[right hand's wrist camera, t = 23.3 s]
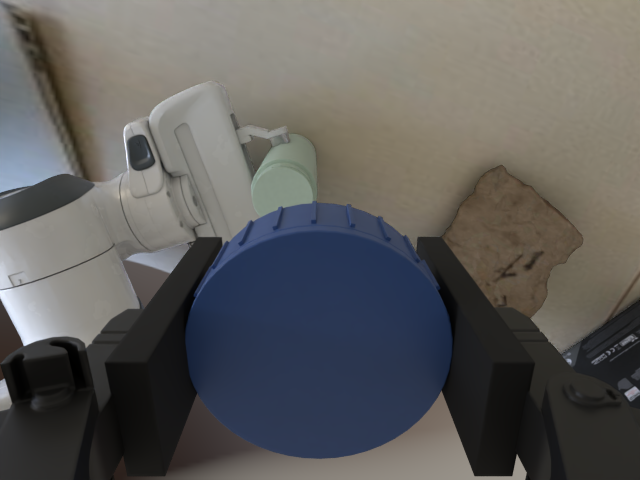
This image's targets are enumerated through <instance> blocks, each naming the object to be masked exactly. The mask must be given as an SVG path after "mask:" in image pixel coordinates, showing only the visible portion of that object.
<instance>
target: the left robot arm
mask: <svg viewBox="0 0 640 480" xmlns="http://www.w3.org/2000/svg"><path fill="white" fill-rule="evenodd" d="M123 135H124V143H125V151H126V159H127V168H128V171H126V172H124V173H122V174H120V175H119V176H117V177H116V178H114V179H112V180H110V181H105V182H90V181H88V180H85V179H82V178H79V177H76V176H73V175H69V174H61V175H57V176H54V177H51V178H48V179H46V180H44V181H42V182H40V183H38V184H36V185H33V186H27V187H21V188H16V189H12V190H8V191H5V192H2V193H0V299H1V301H2V303H3V305H4V306H5V308H6V310H7V312H8V314H9V316H10V318H11V320H12V322H13V324H14V325H15V327H16V329H17V331H18V333H19V335H20V337H21V339H22V342H23V345H24V346H25V345H28V344H30V343H33V342H35V341H39V340H43V339H47V338H51V337H63V336H68V337H74V338H79V339H80V340H81V341H83V342H84V343H85V346H86V348H87V346H88V345H89V344H92V341H93V339H94V338H95V337H96V336H97V335H98V334H100V331H101V330H102V329H103V328H104V327H105V325H106V324H107V323H108V322H109V321H110V319H112V318H113V317H115V316H117V315H118V314H120V313H122V312H123V311H125V310H126V309H145V308H144V306H143V305H142V303H141V301H140V299H139V298H138V297H137V296H136V294H135V291H134V289H133V287H132V284H131V282H130V280H129V277H128V275H127V273H126V271H125V268H124V266H123V264H122V261H124V260H125V259H127V258H128V257H130V256H132V255H134V254H137V253H153V252H158V251H161V250H165V249H168V248H172V247H175V246H178V245H182V244H186V243H188V245H189V248H190V247H191V246H192V245H193V243H194V242H195V241H196V239H197V238H198V237H222V244H223V245H224V243H225V242H226V241H228V242H230V241H231V239H232V238H233V237H234V236H235V235H237V234H238V233H239V232H240V231H241V230H242V229H243V228H245V227H246V225H247V223H248V222H249V221H250V220H252V221H255V220H256V219H258V218H260V216H259V215H258V214H257V212H256V210H255V208H254V206H253V202H252V194H251V185H252V181H253V178H254V176H255V174H256V173H255V170H254V168H253V165H252V162H251V159H250V156H249V153H248V150H247V147H246V145H245V143H247V142H250V141H251V140H252V139H253V138H254V136H257V137H261V138H266V139H270V141H271V144H272V147H275V146H278V145H280V144H281V143H282V144H285V143H288V142H290V137H289V133H288V130H287V127H286V126H284V127H280V128H277V129H274V130H270V131H269V129H265V128H261V127H257V126H253V125H248V126H245V127H241V128H240V127H239V124H238V122H237V119H236V116H235V113H234V110H233V107H232V104H231V101H230V99H229V96H228V93H227V90H226V88H225V86H224V85H222V84H220V83H218V82H215V81H208V82H204V83H201V84H198V85H196V86H193V87H191V88H188V89H186V90H184V91H181V92H179V93H177V94H175V95H173V96H171V97H169V98H168V99H166V100H164V101H162V102H161V103H159V104H158V105H157V106H156V107H155V108H154V109H153V110H152V112H151V114H150V116H147V117H142V118H139V119H136V120H134V121H132V122H130V123H129V124H127V125H126V126H125V127H124V131H123ZM11 404H12V402H11V398H10V395H9V392H8V388H7V385H6V382H5V379H3V380H1V381H0V411H3V410H7V409H10V407H11Z"/></svg>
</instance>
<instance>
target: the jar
mask: <svg viewBox="0 0 640 480" xmlns="http://www.w3.org/2000/svg"><path fill="white" fill-rule="evenodd" d="M289 137H290V142H288V143H285V144H282V143H281V144H280V145H278V146H275V147H271V149H270V150H269V152H268V154H267V155H266V157H265V159H264V160H263V162H262V164H261V166H260V167H259V169H258V171H257V172H256V174H255V176H254V178H253V181H252V185H251V194H252V202H253V206H254V208H255V210H256V212H257V214H258V215H259V216H260V217H262V216H264V215H266V214H268V213H270V212H273V211H276V210H278V207H281V206H282V207H283V208H285V207H290V206H294V205H299V204H310V203H312V201H316V199H317V163H316V151H315V148H314V146H313V145H312V143H311V142H310V141H309V140H308V139H307V138H305V137H304V136H302V135H299V134H289Z"/></svg>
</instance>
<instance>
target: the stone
mask: <svg viewBox="0 0 640 480" xmlns="http://www.w3.org/2000/svg"><path fill="white" fill-rule="evenodd" d="M442 238H443V240H444V241H445V242H446V244H447V245H448V246H449V248H450V249H451V250H452V252H453V253H454V254H455V256H456V257H457V258H458V260H459V261H460V262H461V264H462V265H463V266H464V268H465V269H466V270H467V272H468V273H469V274H470V276H471V277H472V278H473V280H474V281H475V282H476V284H477V285H478V286H479V288H480V289H481V291H482V292H483V293H484V295H485V296H486V297H487V299H488V300H489V301H490V303H491V304H492V305H493V307H513V308H514V309H516V310H517V311H519V312H521V313H522V314H524V315H526V316H527V317H529V318H531V317H532V316H533V315H534V314H535V313H536V312H537V311H538V310H539V309H540V308H541V306H542V304H543V302H544V301H545V299H546V297H547V291H548V290H547V279H548V278H549V276H550V271H551V269H552V267H553V266H555V265H557V264H563V263H566V261H567V259H568V257H569V256H570V254H571V253H572V252H573V251H574V250H575V249H577V248H579V247H580V246H581V245H582V243H583V236H582V235H581V234H580V233H579V232H578V230H577V229H576V228H575V227H574V226H573V225H572V224H571V223H570V222H569V221H568V219H567V218H565V217H564V216H563V215H562V214H561V213H560V212H559V211H558V210H557V209H556V208H555V207H553V206H552V205H551V204H550V203H549V202H548V201H547V200H545V199H543V198H542V197H540V196H539V195H538V194H537V192H536V191H535V190H534V189H533V188H532V187H531V186H528V185H525V184H524V183H522V182H521V181H520V180H518V179H516V178H514V177H513V176H512V175H510V174H508V173H507V172H506V168H505V167H504V166H503V165H500V166H498V167H496V168H494V169H490V170H489V171H488V172H486V173H485V174H484V175H483V176H482V177H481V178H480V179H479V181H478V183H477V185H476V186H475V189H474V192H473V194H472V195H470V196H468V198H467V199H466V200H465V201H463V202H462V203H461V205H460V207H459V209H458V213H457V215H456V217H455V219H454V220H453V222H452V225H451V226H450V227H449V228H448V229H447V230H446V232H445V234H444V235H443V236H442Z"/></svg>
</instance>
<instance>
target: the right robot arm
mask: <svg viewBox="0 0 640 480" xmlns="http://www.w3.org/2000/svg"><path fill="white" fill-rule="evenodd" d="M222 247H223V244H222V237H198V238H197V239H196V241H195V242H194V243H193V245H192V246H191V247H190V249H189V250H188V251H187V253H186V254H185V255H184V257H183V258H182V259H181V261H180V262H179V263H178V265H177V266H176V267H175V269H174V270H173V271H172V273H171V274H170V275H169V277H168V278H167V279H166V281H165V282H164V283H163V285H162V286H161V288H160V289H159V290H158V291H157V293H156V294H155V296H154V297H153V298H152V299H151V301H150V302H149V304H148V305H147V306H146V308H145V309H126V310H125V311H123V312H122V313H120V314H118V315H117V316H115V317H113V318H112V319H110V321H109V322H108V323H107V324H106V325H105V327H104V328H103V329H102V330H101V331H100V334H98V335H97V336H96V337H95V338H94V339H93V341H92V344H89V345H88V346H87V348H86V346H85V343H84V342H83V341H81V340H80V339H79V338H74V337H68V336H63V337H51V338H47V339H43V340H39V341H35V342H33V343H30V344H28V345H25V346H23V347H21V348H19V349H18V350H16V351H15V352H13V353H11V354H10V355H8V356H7V357H6V358H5V360H4V361H3V362H2V363H1V364H0V365H1V368H2V372H3V375H4V378H5V382H6V385H7V388H8V392H9V395H10V398H11V402H12V404H11V407H10V409H7V410H3V411H0V480H115V479H114V475H113V474H114V472H115V470H116V468H117V466H118V464H119V462H120V460H121V458H122V456H123V457H124V462H125V466H126V471H127V476H165V475H166V473H167V470H168V467H169V465H170V462H171V460H172V457H173V454H174V452H175V449H176V447H177V444H178V441H179V439H180V436H181V434H182V431H183V428H184V426H185V423H186V420H187V418H188V415H189V413H190V410H191V408H192V405H193V402H194V400H195V397H196V395H197V391H196V390H195V388H194V386H193V383H192V381H191V378H190V374H189V367H188V359H187V351H186V343H185V328H186V324H187V320H188V316H189V312H190V310H191V307H192V305H193V303H194V300H195V298H196V297H194V293H195V292H196V290H197V288H198V286H199V285H200V283H201V281H202V279H203V278H204V276H205V274H206V272H207V271H208V269H209V267H210V266H212V264H213V262H214V261H215V259H216V257H217V255H218V254H219V252H220V250H221V248H222ZM417 255H418V256H419V258H420V259H421V261H422V260H425V262H426V264H427V265H428V267H429V269H430V271H431V272H432V274H433V276H434V278H435V280H436V281H437V283H438V285H439V287H440V289H439V290H437V291H438V292H439V294H440V296H441V298H442V301H443V303H444V305H445V307H446V309H447V312H448V314H449V316H450V323H451V329H452V337H453V351H452V359H451V365H450V370H449V373H448V376H447V379H446V382H445V384H444V386H443V388H442V393H443V395H444V398H445V400H446V403H447V406H448V408H449V411H450V413H451V416H452V418H453V421H454V424H455V426H456V429H457V432H458V434H459V437H460V439H461V442H462V445H463V447H464V450H465V452H466V455H467V458H468V460H469V463H470V465H471V468H472V471H473V473H474V476H512V475H513V470H514V465H515V460H516V455H518V457H519V458H520V460H521V462H522V464H523V466H524V468H525V470H526V472H527V475H526V479H525V480H640V409H637V408H633V407H630V406H629V404H628V402H627V401H626V399H625V398H624V397H623V395H622V394H621V393H620V392H619V391H617V390H616V389H614V388H613V387H612V386H610V385H609V384H607V383H605V382H603V381H601V380H599V379H597V378H594V377H591V376H587V375H584V374H580V373H576V372H575V370H574V369H573V368H572V367H571V366H570V365H569V363H568V362H567V361H566V360H565V359H564V358H563V356H562V355H561V354H560V353H559V352H558V351H557V349H556V348H555V347H554V346H553V345H552V344H551V342H548V339H547V338H546V337H545V335H544V334H543V333H542V332H540V330H539V328H538V327H537V326H536V325H535V324H534V323H533V322H532V320H531V319H530V318H529V317H527V316H526V315H524V314H522V313H521V312H519V311H517V310H516V309H514V308H513V307H493V305H492V304H491V303H490V301H489V300H488V299H487V297H486V296H485V295H484V293H483V292H482V291H481V289H480V288H479V286H478V285H477V284H476V282H475V281H474V280H473V278H472V277H471V276H470V274H469V273H468V272H467V270H466V269H465V268H464V266H463V265H462V264H461V262H460V261H459V260H458V258H457V257H456V256H455V254H454V253H453V252H452V250H451V249H450V248H449V246H448V245H447V244H446V242H445V241H444V240H443V238H442V237H418V240H417Z"/></svg>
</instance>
